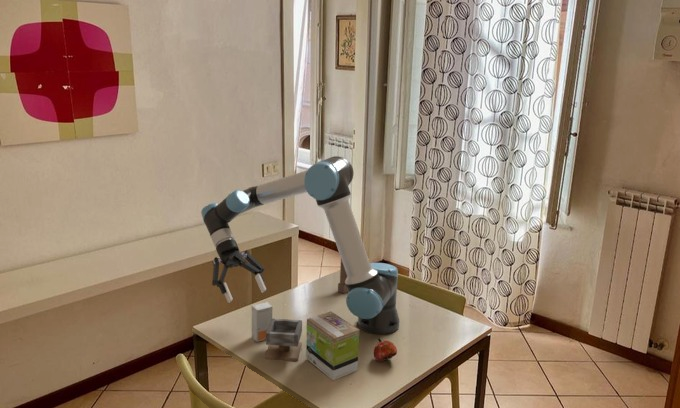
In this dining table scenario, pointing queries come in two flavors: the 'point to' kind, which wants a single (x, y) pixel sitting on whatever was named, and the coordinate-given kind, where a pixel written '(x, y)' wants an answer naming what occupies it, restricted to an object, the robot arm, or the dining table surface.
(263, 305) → the skincare box
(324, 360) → the tea box
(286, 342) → the cup stand
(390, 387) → the dining table surface
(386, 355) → the red rounded piece
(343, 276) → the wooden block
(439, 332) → the dining table surface
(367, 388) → the dining table surface
